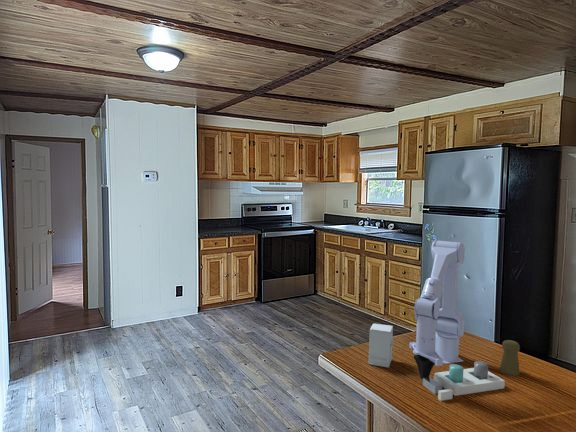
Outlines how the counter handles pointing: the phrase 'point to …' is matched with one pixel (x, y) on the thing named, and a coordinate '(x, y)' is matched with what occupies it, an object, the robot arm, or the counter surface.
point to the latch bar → (432, 385)
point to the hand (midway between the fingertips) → (424, 378)
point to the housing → (469, 382)
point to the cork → (510, 358)
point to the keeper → (445, 394)
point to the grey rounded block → (480, 370)
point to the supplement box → (380, 345)
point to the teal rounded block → (456, 373)
